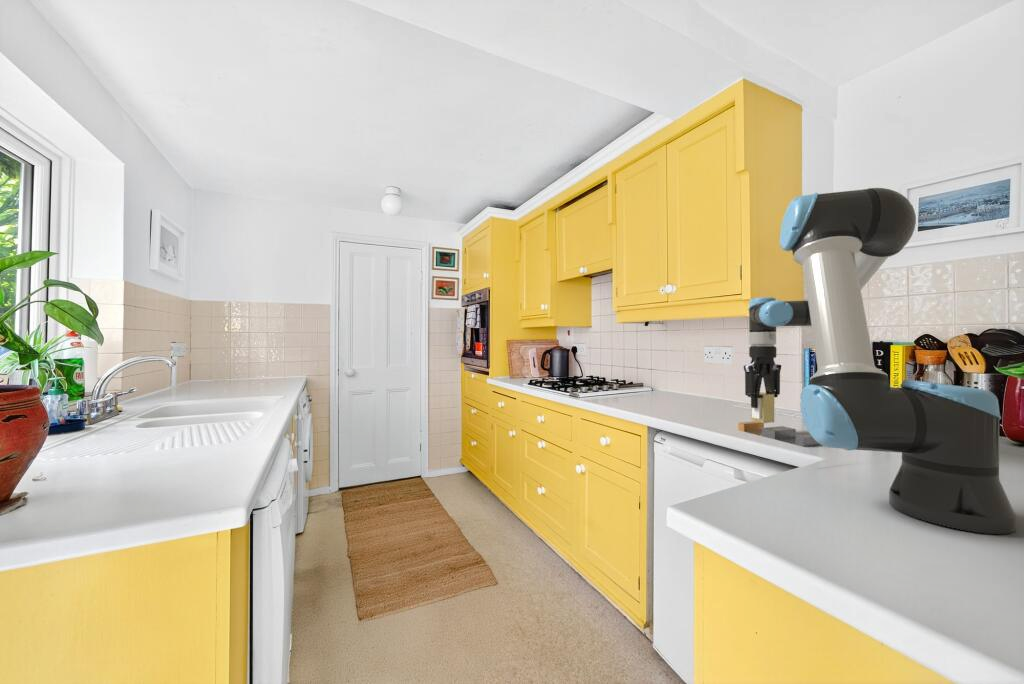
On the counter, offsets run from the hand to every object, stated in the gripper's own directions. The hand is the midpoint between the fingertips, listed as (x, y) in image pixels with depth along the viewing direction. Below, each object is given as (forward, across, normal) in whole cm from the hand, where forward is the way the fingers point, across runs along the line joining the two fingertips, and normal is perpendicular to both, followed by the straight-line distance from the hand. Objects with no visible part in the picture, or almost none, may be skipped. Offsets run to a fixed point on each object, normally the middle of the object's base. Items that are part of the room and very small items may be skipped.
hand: (762, 417), depth 131 cm
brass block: (+1, 0, 0) cm, 1 cm away
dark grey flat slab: (+5, 0, -6) cm, 8 cm away
